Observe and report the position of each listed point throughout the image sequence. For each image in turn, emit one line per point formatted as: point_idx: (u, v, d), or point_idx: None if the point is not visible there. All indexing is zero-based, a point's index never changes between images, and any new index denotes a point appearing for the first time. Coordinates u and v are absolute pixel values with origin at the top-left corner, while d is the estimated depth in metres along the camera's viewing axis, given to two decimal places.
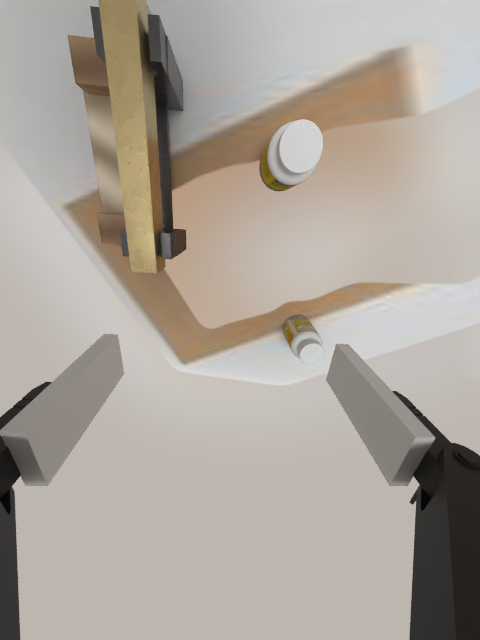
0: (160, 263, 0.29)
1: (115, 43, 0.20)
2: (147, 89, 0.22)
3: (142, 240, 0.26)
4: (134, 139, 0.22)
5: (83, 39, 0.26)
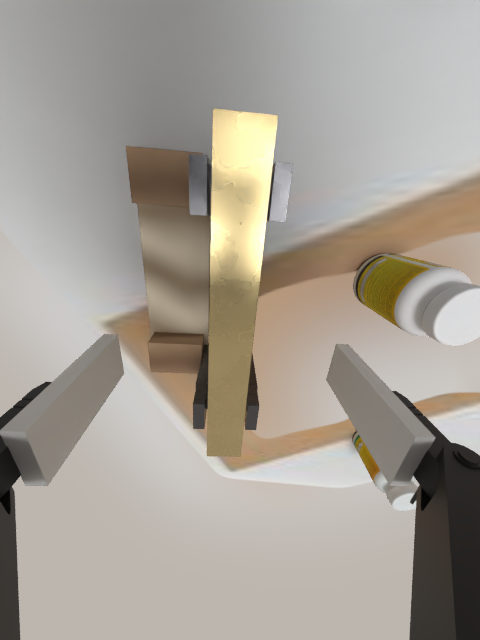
0: None
1: (229, 215, 0.12)
2: None
3: (227, 427, 0.19)
4: (237, 325, 0.15)
5: (146, 150, 0.18)
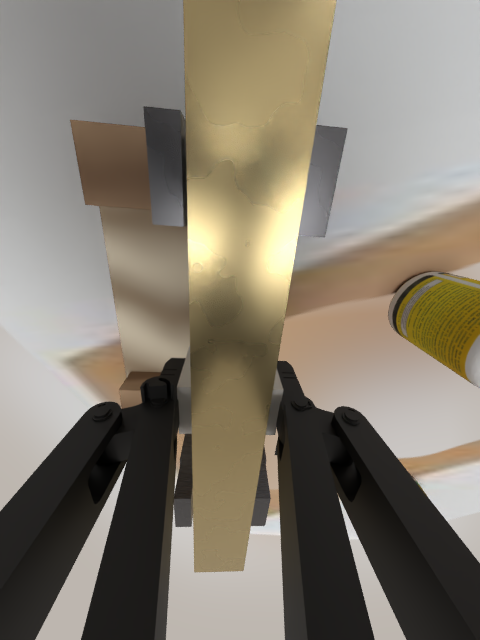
0: None
1: (224, 227, 0.06)
2: None
3: (224, 540, 0.13)
4: (239, 412, 0.09)
5: (102, 127, 0.12)
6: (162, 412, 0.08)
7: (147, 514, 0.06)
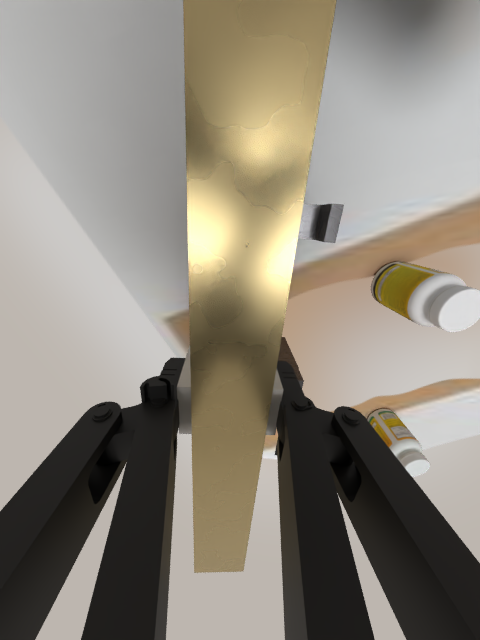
0: None
1: (224, 228, 0.06)
2: None
3: (224, 540, 0.13)
4: (239, 413, 0.09)
5: None
6: (162, 412, 0.08)
7: (147, 515, 0.06)
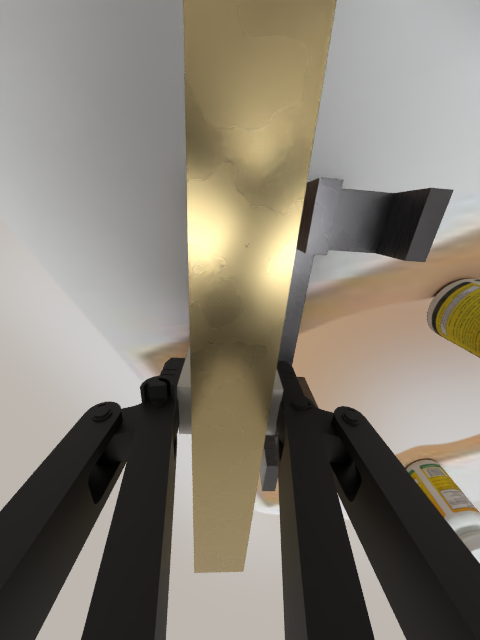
0: None
1: (224, 228, 0.06)
2: None
3: (224, 540, 0.13)
4: (239, 413, 0.09)
5: None
6: (162, 412, 0.08)
7: (147, 515, 0.06)
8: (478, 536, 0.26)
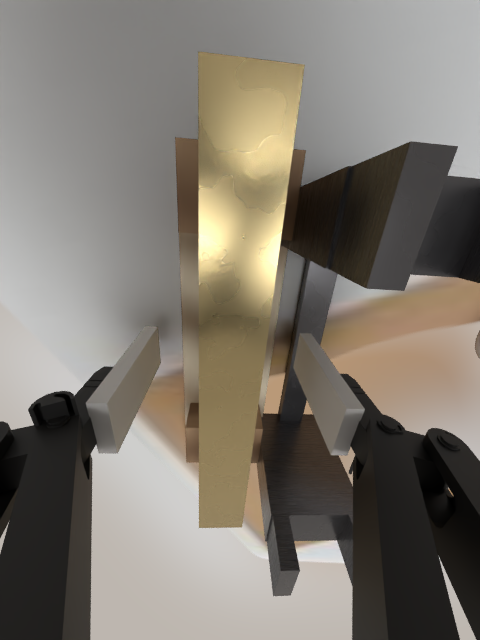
0: None
1: (226, 224, 0.08)
2: None
3: (225, 496, 0.15)
4: (237, 376, 0.11)
5: None
6: (63, 431, 0.07)
7: (47, 547, 0.05)
8: None
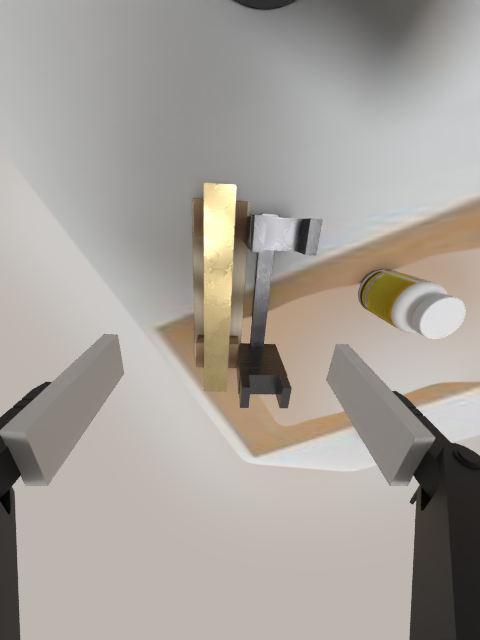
0: None
1: (213, 233, 0.23)
2: None
3: (217, 368, 0.29)
4: (220, 297, 0.25)
5: None
6: None
7: None
8: None
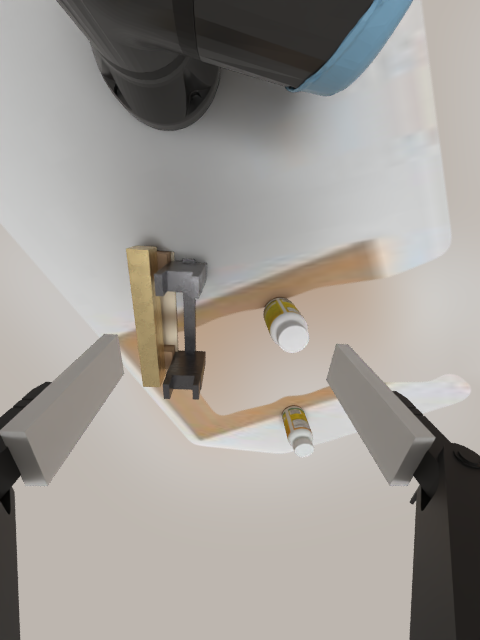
0: (162, 376, 0.43)
1: (136, 280, 0.34)
2: (154, 292, 0.36)
3: (150, 370, 0.40)
4: (146, 321, 0.36)
5: None
6: None
7: None
8: (301, 440, 0.46)
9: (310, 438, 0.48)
